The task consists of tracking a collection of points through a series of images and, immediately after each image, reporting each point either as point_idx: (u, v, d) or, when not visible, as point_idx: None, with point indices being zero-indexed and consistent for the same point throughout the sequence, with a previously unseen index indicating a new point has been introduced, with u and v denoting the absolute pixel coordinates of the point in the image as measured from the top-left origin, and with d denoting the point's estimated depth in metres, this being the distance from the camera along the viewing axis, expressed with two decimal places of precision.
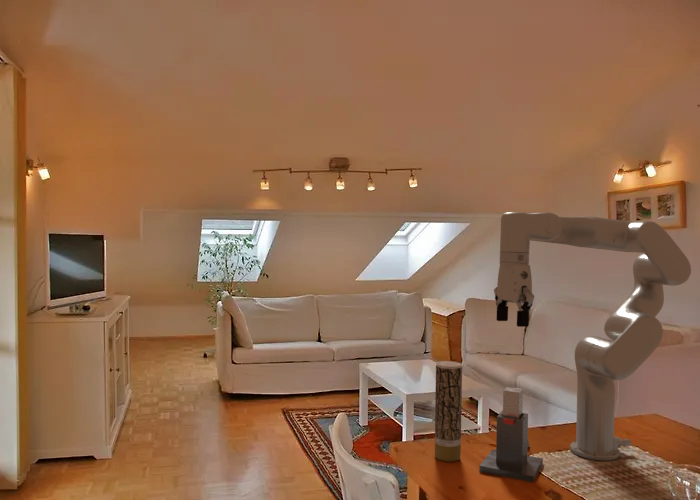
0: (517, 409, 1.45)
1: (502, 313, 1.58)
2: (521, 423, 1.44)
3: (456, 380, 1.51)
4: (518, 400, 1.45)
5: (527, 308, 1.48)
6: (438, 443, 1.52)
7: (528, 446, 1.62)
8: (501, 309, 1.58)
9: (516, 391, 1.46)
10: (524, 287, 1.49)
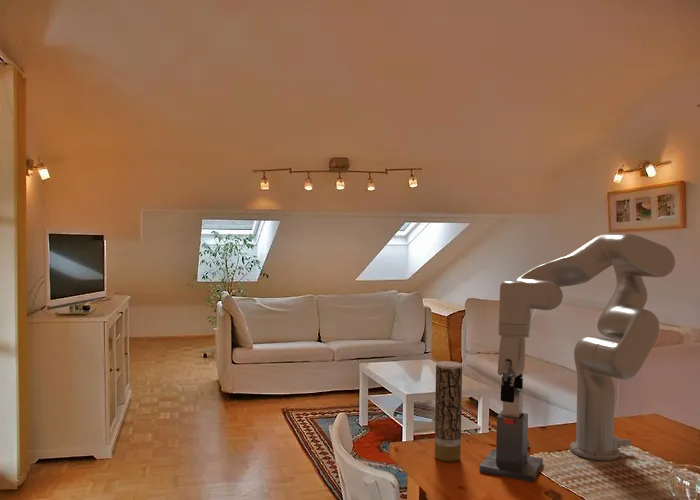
0: (517, 409, 1.45)
1: None
2: (521, 423, 1.44)
3: (456, 380, 1.51)
4: (518, 400, 1.45)
5: None
6: (438, 443, 1.52)
7: (528, 446, 1.62)
8: None
9: (516, 391, 1.46)
10: None
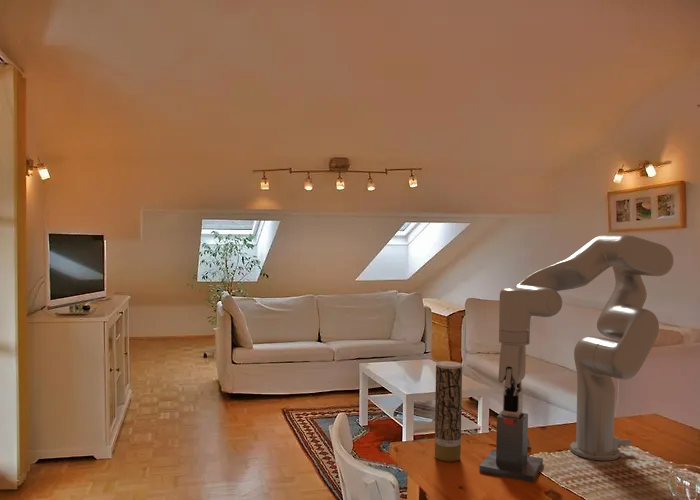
0: (517, 409, 1.45)
1: None
2: (521, 423, 1.44)
3: (456, 380, 1.51)
4: (518, 400, 1.45)
5: None
6: (438, 443, 1.52)
7: (529, 446, 1.62)
8: None
9: None
10: None
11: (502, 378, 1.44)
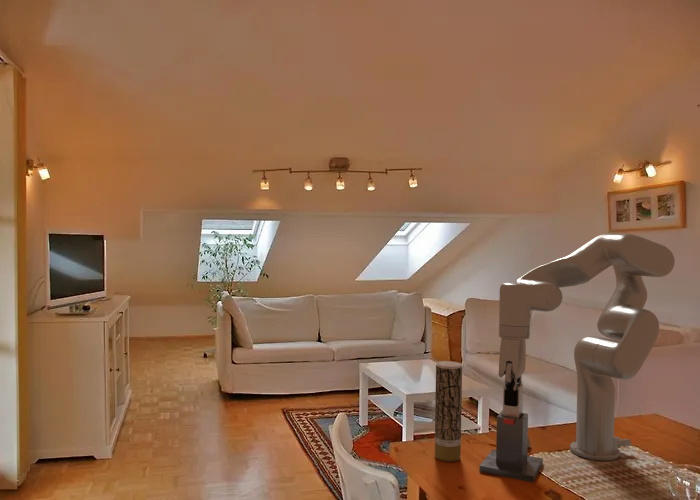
0: None
1: None
2: (521, 423, 1.44)
3: (456, 380, 1.51)
4: (518, 394, 1.45)
5: None
6: (438, 443, 1.52)
7: (529, 446, 1.62)
8: None
9: None
10: None
11: (502, 372, 1.44)
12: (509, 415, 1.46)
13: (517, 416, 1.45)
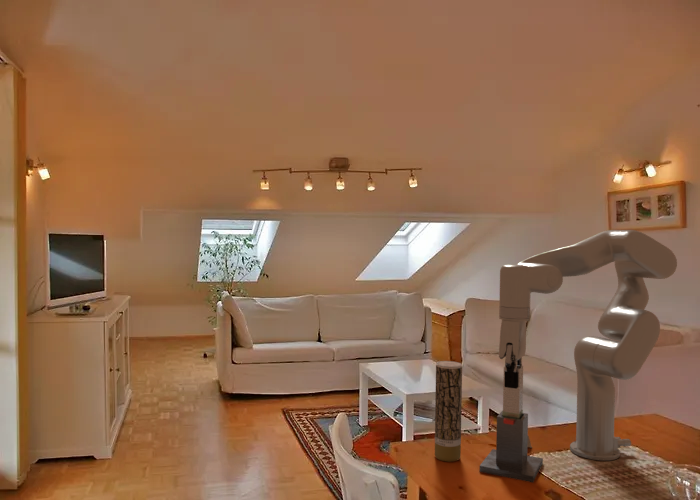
0: None
1: None
2: (521, 423, 1.44)
3: (456, 380, 1.51)
4: (518, 376, 1.45)
5: None
6: (438, 443, 1.52)
7: (530, 447, 1.62)
8: None
9: None
10: None
11: (502, 354, 1.44)
12: (509, 397, 1.46)
13: (517, 398, 1.45)
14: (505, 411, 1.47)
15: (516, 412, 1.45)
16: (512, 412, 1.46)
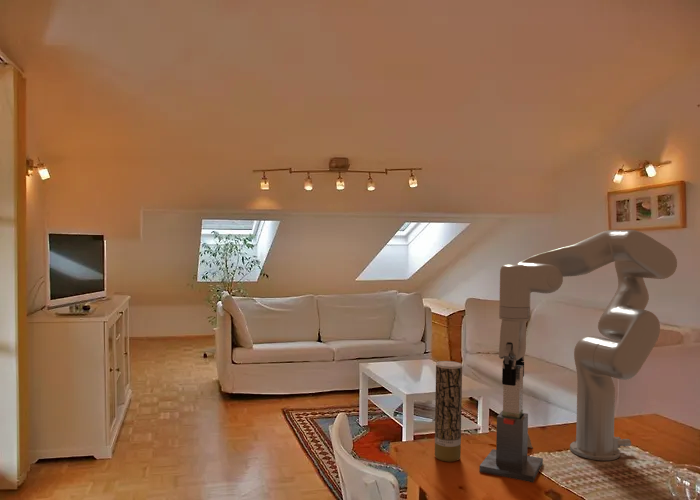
0: (517, 385, 1.45)
1: None
2: (521, 423, 1.44)
3: (456, 380, 1.51)
4: (518, 376, 1.45)
5: None
6: (438, 443, 1.52)
7: (530, 447, 1.62)
8: None
9: (516, 367, 1.46)
10: None
11: (502, 354, 1.44)
12: (509, 397, 1.46)
13: (517, 398, 1.45)
14: (505, 411, 1.47)
15: (516, 411, 1.45)
16: (512, 412, 1.46)
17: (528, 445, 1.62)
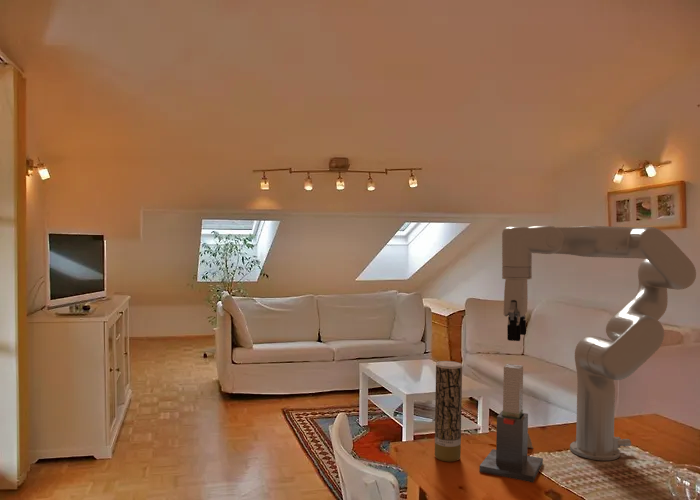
0: (517, 385, 1.45)
1: None
2: (521, 423, 1.44)
3: (456, 380, 1.51)
4: (518, 376, 1.45)
5: None
6: (438, 443, 1.52)
7: (531, 447, 1.62)
8: None
9: (516, 367, 1.46)
10: None
11: (507, 311, 1.51)
12: (509, 397, 1.46)
13: (517, 398, 1.45)
14: (505, 411, 1.47)
15: (516, 411, 1.45)
16: (512, 412, 1.46)
17: (528, 445, 1.62)
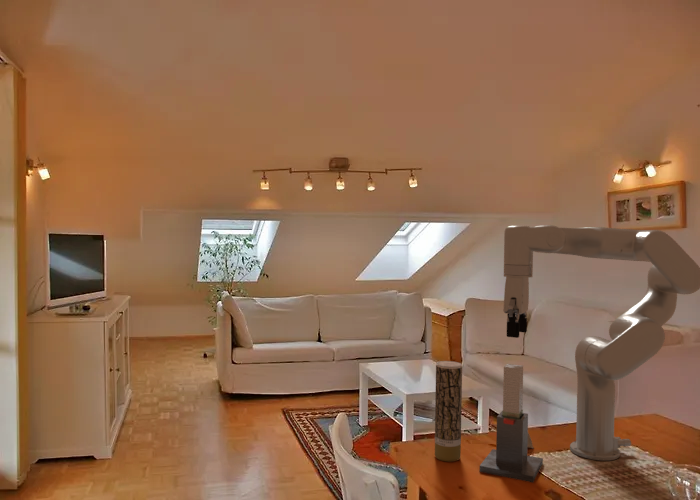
0: (517, 385, 1.45)
1: None
2: (521, 423, 1.44)
3: (456, 380, 1.51)
4: (518, 376, 1.45)
5: None
6: (438, 443, 1.52)
7: (531, 447, 1.62)
8: None
9: (516, 367, 1.46)
10: None
11: (507, 308, 1.54)
12: (509, 397, 1.46)
13: (517, 398, 1.45)
14: (505, 411, 1.47)
15: (516, 411, 1.45)
16: (512, 412, 1.46)
17: (529, 445, 1.62)
